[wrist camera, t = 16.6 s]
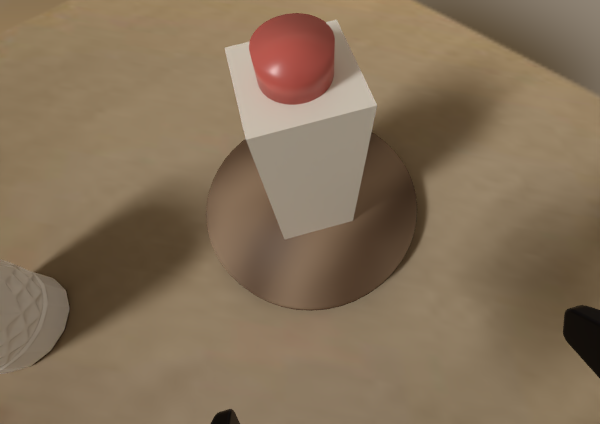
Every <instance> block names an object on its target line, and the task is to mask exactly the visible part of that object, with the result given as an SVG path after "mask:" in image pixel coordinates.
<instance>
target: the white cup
mask: <svg viewBox="0 0 600 424" xmlns="http://www.w3.org/2000/svg"><path fill="white" fill-rule="evenodd" d="M69 309H70V308H69V303H68V298H67V293H66V290H65V289H64V288H63V287H62V286H61V285H60V284H59V283H58V282H57V281H56V280H55V279H54V278H51V277H48V276H45V275H42V274H38V273H35V272H32V271H29V270H26V269H24V268H22V267H20V266H18V265H16V264H13V263H10V262H7V261H4V260H1V259H0V374H5V373H10V372H13V371H17V370H20V369H24V368H27V367H30V366H32V365H33V364H34V363H36V362H37V361H38V360H39V359H41V358H42V357H43V356H45V355H46V354H47V353H48V352H50V351H51V350H52V348H53V347H54V345H55V344H56V342H57V340H58V339H59V337H60V336H61V334H62V333H63V331H64V330H65V326H66V322H67V318H68V313H69Z"/></svg>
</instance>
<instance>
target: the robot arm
mask: <svg viewBox="0 0 600 424" xmlns="http://www.w3.org/2000/svg"><path fill="white" fill-rule="evenodd" d="M563 335H564V337H565V339H566V341H567V342H568V343H569V345H570V346H571V347H572V348H573V349H574V350H575V351H576V352H577V353H578V355H579V356H580V357H581V358H582V359H583V360H584V361H585V362H586V364H587V365H588V366H589V367H590V368H591V369H592V370H593V371H594V372H595V374H596V375H597V376H598V377H599V378H600V310H598V309H595V308H592V307H588V306H584V305H580V306H576V307H572V308H569V309H567V310H566V311H565V315H564V326H563ZM211 424H240V423H239V421H238V418H237V416H236V414H235V412H234V411H233V410H232V409H228V410H225V411H222V412H219V413H217V414H216V415H215V416H214V418H213V420H212V422H211Z"/></svg>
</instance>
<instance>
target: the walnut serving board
mask: <svg viewBox="0 0 600 424" xmlns="http://www.w3.org/2000/svg"><path fill="white" fill-rule="evenodd" d="M206 218H207V229H208V233H209V237H210V241H211V244H212V246H213V249H214V251H215V253H216V255H217V257H218V259H219V260H220V262H221V264H222V265H223V266H224V268H225V269H226V270H227V272H228V273H229V274H230V275H231V276H232V277H233V278H234V279H235V280H236V281H237V282H238V283H239V284H240V285H242V286H243V287H244V288H246V289H247V290H249V291H250V292H251V293H253V294H254V295H256V296H258V297H260V298H262V299H264V300H266V301H267V302H270V303H273V304H276V305H279V306H281V307H286V308H291V309H296V310H323V309H330V308H334V307H339V306H343V305H345V304H348V303H351V302H353V301H356V300H358V299H360V298H361V297H363V296H365V295H367V294H369V293H370V292H371V291H373V290H374V289H376V288H377V287H378V286H380V285H381V284H382V283H383V282H384V281H385V280H386V279H387V278H388V277H389V276H390V275H391V274H392V273H393V271H394V270H395V269H396V267H397V266H398V265H399V264H400V262H401V261H402V259H403V258H404V256H405V254H406V252H407V250H408V249H409V246H410V243H411V241H412V238H413V235H414V231H415V226H416V220H417V201H416V194H415V190H414V186H413V182H412V180H411V177H410V175H409V172H408V171H407V169H406V167H405V165H404V163H403V162H402V160H401V159H400V158H399V156H398V155H397V154H396V152H395V151H394V150H393V149H392V148H391V147H390V146H389V145H388V144H387V143H386V142H384V141H383V140H382V139H381V138H379V137H378V136H377V135H375V134H374V133H372V132H371V137H370V142H369V146H368V151H367V156H366V161H365V166H364V170H363V175H362V180H361V185H360V189H359V194H358V199H357V204H356V208H355V213H354V218H353V221H350V222H347V223H343V224H339V225H336V226H332V227H328V228H325V229H321V230H317V231H314V232H310V233H306V234H303V235H299V236H295V237H292V238H288V239H284V237H283V234H282V232H281V229H280V227H279V224H278V221H277V219H276V216H275V214H274V211H273V208H272V206H271V203H270V201H269V198H268V196H267V193H266V190H265V188H264V185H263V183H262V180H261V177H260V175H259V172H258V170H257V167H256V165H255V162H254V159H253V157H252V154H251V152H250V149H249V146H248V144H247V141H246V139H245V140H244V141H242V142H241V143H240V144H239V145H238V146H237V147H236V148H235V149H234V150H233V151H232V152H231V153H230V154H229V155H228V156H227V158H226V159H225V160H224V162H223V163H222V165H221V166H220V168H219V169H218V171H217V173H216V175H215V177H214V179H213V182H212V185H211V188H210V191H209V196H208V201H207V211H206Z"/></svg>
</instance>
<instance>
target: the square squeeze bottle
mask: <svg viewBox="0 0 600 424" xmlns="http://www.w3.org/2000/svg"><path fill="white" fill-rule="evenodd" d="M225 52H226V56H227V60H228V65H229V69H230V73H231V78H232V82H233V86H234V91H235V95H236V99H237V104H238V108H239V112H240V117H241V121H242V125H243V129H244V134H245V138H246V141H247V144H248V146H249V149H250V152H251V154H252V157H253V159H254V162H255V165H256V167H257V170H258V172H259V175H260V177H261V180H262V183H263V185H264V188H265V190H266V193H267V196H268V198H269V201H270V203H271V206H272V208H273V211H274V214H275V216H276V219H277V221H278V224H279V227H280V229H281V232H282V234H283V237H284V239H288V238H292V237H295V236H299V235H303V234H306V233H310V232H314V231H317V230H321V229H325V228H328V227H332V226H336V225H339V224H343V223H347V222H350V221H353V218H354V213H355V208H356V204H357V199H358V194H359V189H360V185H361V180H362V175H363V170H364V166H365V161H366V156H367V151H368V146H369V142H370V137H371V132H372V127H373V123H374V118H375V113H376V108H377V104H376V102H375V100H374V98H373V96H372V93H371V91H370V89H369V87H368V85H367V83H366V81H365V79H364V76H363V74H362V72H361V70H360V68H359V66H358V64H357V62H356V60H355V57H354V55H353V53H352V51H351V49H350V47H349V45H348V43H347V40H346V38H345V36H344V34H343V32H342V30H341V28H340V26H339V23H338V21H337V20H333V21H329V22H324V21H323V20H321V19H319V18H317V17H315V16H312V15H308V14H299V13H293V14H285V15H281V16H277V17H275V18H272V19H270V20H268V21H266V22H265V23H263V24H262V25H261V26H260V27H258V28H257V30H256V31H255V32H254V33H253V35H252V37H251V39H250V42H246V43H242V44H238V45H234V46H230V47H226V48H225Z"/></svg>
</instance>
